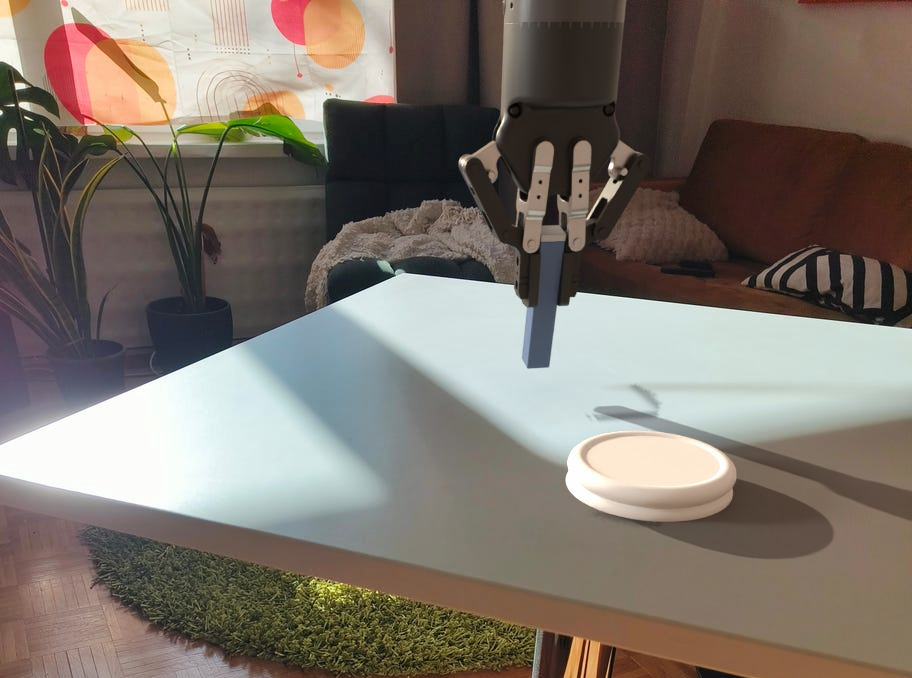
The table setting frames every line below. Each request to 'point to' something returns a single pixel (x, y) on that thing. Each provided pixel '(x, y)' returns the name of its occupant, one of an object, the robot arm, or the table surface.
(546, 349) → the blue square bar
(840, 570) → the table surface
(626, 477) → the coaster
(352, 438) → the table surface
